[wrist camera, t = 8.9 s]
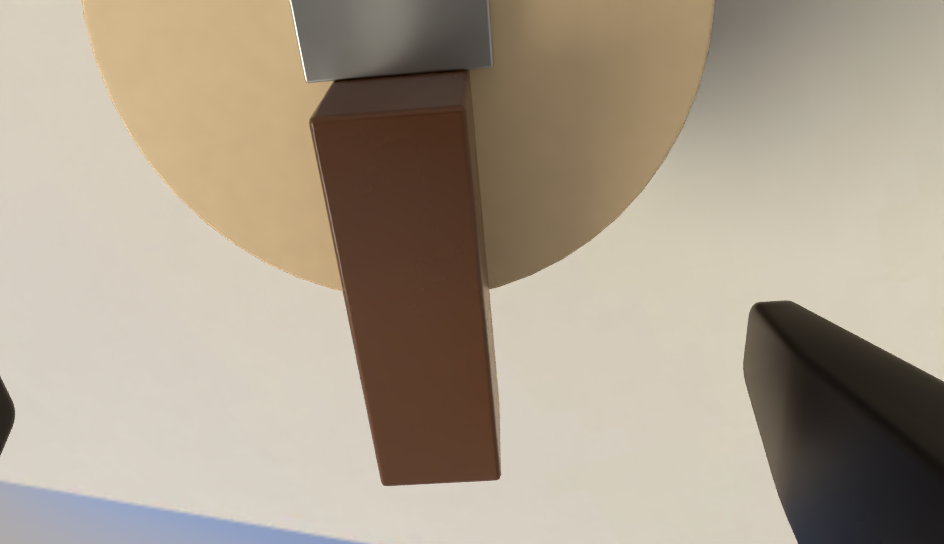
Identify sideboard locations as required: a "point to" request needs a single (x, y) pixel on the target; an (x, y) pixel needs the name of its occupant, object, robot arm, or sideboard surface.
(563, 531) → the sideboard surface
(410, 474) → the cake knife
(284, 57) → the cake
